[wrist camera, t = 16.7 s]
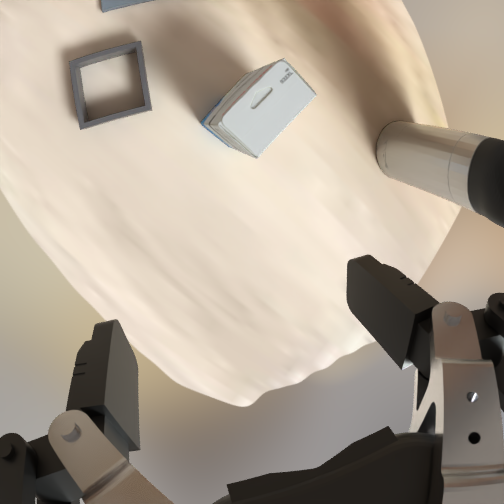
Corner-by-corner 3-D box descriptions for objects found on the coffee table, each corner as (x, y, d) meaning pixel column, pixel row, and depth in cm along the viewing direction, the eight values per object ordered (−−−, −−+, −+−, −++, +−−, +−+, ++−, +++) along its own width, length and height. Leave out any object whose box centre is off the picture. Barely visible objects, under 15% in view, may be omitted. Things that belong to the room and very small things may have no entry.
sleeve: (142, 45, 29) (140, 40, 27) (152, 110, 32) (151, 109, 30) (74, 64, 27) (69, 61, 25) (85, 128, 31) (80, 129, 29)
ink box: (229, 148, 37) (257, 162, 27) (198, 122, 35) (215, 124, 24) (275, 99, 36) (320, 94, 25) (247, 71, 33) (283, 55, 23)
